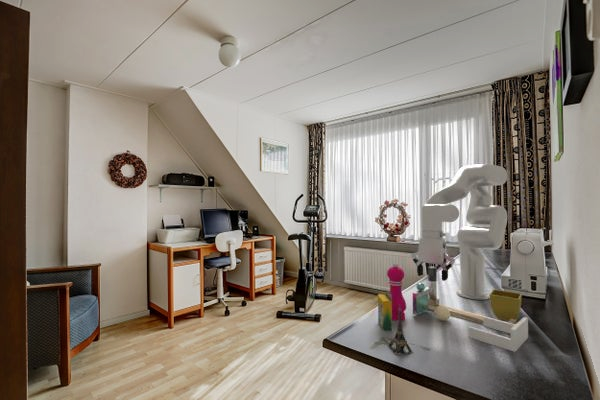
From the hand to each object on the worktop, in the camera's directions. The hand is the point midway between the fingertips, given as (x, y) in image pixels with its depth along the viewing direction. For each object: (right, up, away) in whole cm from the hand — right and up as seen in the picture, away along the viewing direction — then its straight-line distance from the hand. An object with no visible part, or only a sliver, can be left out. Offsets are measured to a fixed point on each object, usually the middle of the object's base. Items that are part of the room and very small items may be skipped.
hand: (432, 277), depth 114 cm
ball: (-2, -9, -12) cm, 16 cm away
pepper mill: (-18, -12, -10) cm, 24 cm away
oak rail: (+7, -12, -9) cm, 16 cm away
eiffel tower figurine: (-24, -12, -33) cm, 43 cm away
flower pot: (+22, -12, -11) cm, 27 cm away
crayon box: (-24, -12, -18) cm, 32 cm away
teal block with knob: (-5, -11, -4) cm, 13 cm away
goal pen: (+8, -12, -25) cm, 29 cm away
